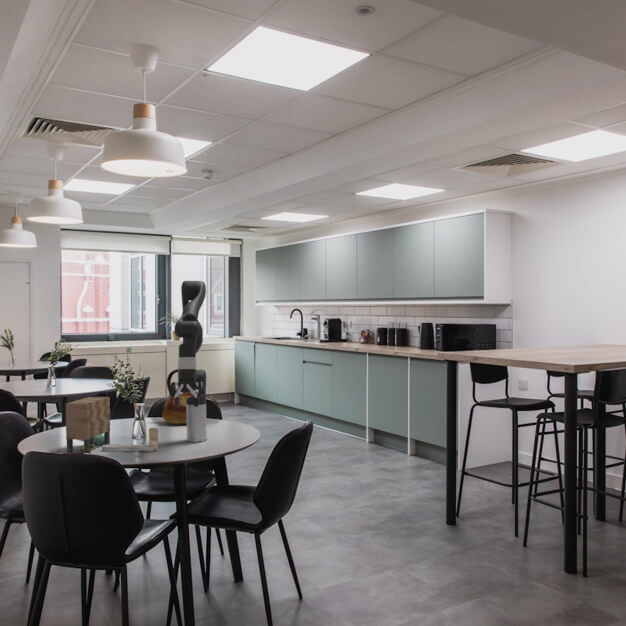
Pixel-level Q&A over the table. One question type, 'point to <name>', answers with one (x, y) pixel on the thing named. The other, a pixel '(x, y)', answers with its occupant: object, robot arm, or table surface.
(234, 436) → the table surface
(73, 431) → the walnut cabinet
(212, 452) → the table surface
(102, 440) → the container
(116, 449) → the plank with tan block
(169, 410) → the ceramic pitcher
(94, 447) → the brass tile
